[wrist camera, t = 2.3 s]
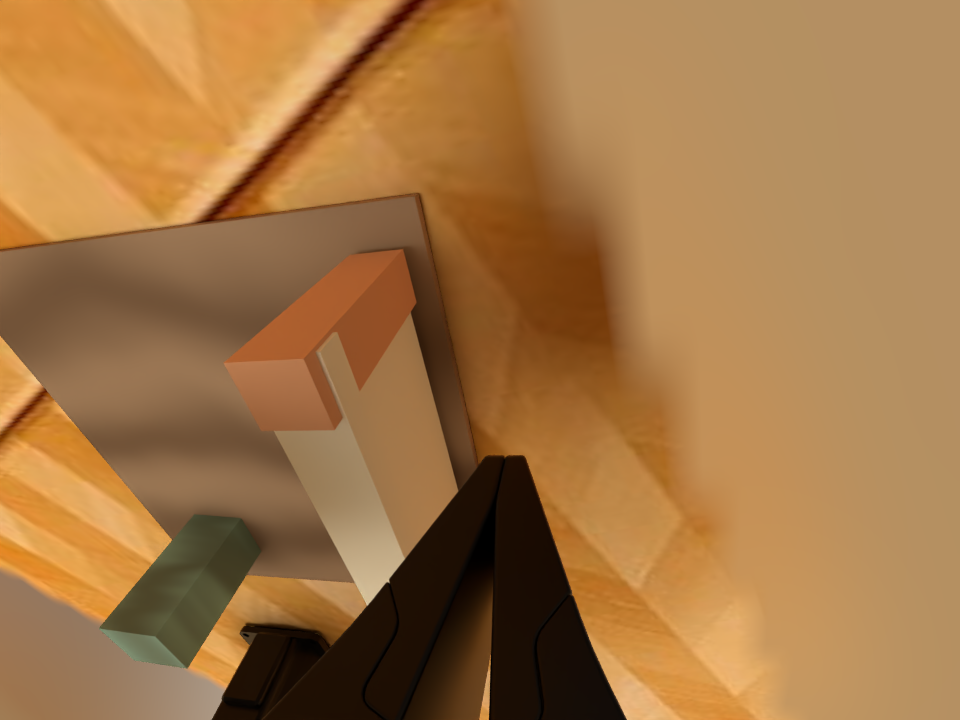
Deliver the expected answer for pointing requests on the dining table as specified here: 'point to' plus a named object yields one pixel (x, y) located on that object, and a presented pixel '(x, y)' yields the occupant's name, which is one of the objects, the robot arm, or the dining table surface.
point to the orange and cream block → (354, 411)
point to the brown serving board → (206, 390)
